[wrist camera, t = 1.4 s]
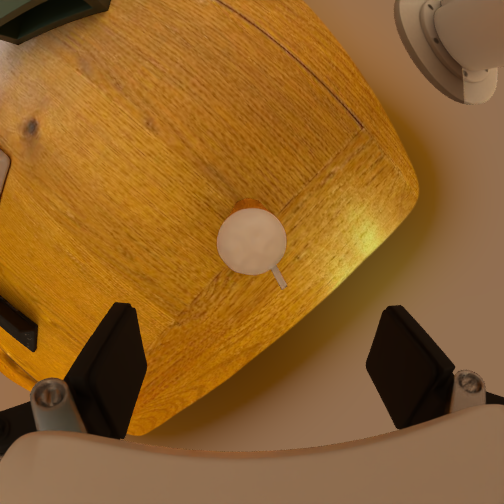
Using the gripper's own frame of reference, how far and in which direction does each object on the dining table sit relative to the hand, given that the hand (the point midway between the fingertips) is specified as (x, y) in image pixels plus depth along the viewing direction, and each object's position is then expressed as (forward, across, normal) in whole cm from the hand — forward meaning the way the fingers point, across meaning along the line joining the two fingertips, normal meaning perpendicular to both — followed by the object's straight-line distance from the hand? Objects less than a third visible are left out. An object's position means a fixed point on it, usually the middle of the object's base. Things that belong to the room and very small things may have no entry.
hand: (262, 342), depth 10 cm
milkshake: (+18, 0, 0) cm, 18 cm away
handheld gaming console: (+18, +35, +14) cm, 41 cm away
